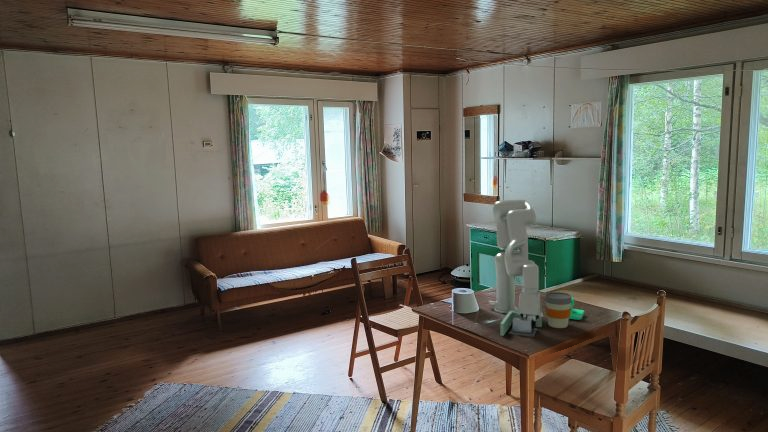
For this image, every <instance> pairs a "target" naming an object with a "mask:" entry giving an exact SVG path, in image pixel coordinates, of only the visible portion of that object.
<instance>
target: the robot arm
mask: <svg viewBox="0 0 768 432" xmlns="http://www.w3.org/2000/svg"><path fill="white" fill-rule="evenodd" d="M492 214H493V217H494V220H495V225H496V245H497V248H499V250H502V251H503V250H504V252H502V251H501V252H498V253H497V254H496V255H495V256H494V266H495V273H496V274H495V275H496V276H495V277H496V279H495V280H496V289H495V290H496V297H495V298H496V300H494V301H493V300H488V304H489V306H493V311H494V312H496V313H500V314H508V312H509V311H515V312H516V313H517V314H519V315H520V316H521V317H522V318H523V319H527V314H528V315H533V320H532V329H534V328H536V327H537V326H536V320H537V319H538V318H539V317H542V318H543V317H544V315H545V313H544V312H543V308H542V299H541V298H542V297H541V294H540V292H539V276H540V275H539V271H540V270H539V265H538V264H536V263H535V261H534V260H530V259H529V245H528V244H529V241H528V239H529V236H528V232H527V227H530V226H535V225H536V223H537V215H536V213H535V210H534V208H533V207H532V206H531V205H530V203H529V201H527V200H525V199H503V200H498V201H496V202H494V203H493V207H492ZM513 250H517V251H513ZM515 277H521V286H518V290H519V291H520V293H519V298H518V307H517V306H515V302H516V301H515V297H516V296H515V294H516V293H515V289H516V288H515V287H516V283H515Z"/></svg>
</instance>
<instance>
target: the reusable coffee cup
mask: <svg viewBox="0 0 768 432" xmlns="http://www.w3.org/2000/svg"><path fill="white" fill-rule="evenodd" d="M544 297H545V298H544V301H545V315H546V316H547V317H546V318H547V324H548V326H549V327H552V328H556V329H565V328H567V327H568V325H569V320H570V319H569V317H570V313H571V303H572V298H573V297H572V295H571V294H570V293H567V292H566V293H565V292H562V291H561V292H559V291H553V292H552V291H551V292H548V293H545V296H544Z"/></svg>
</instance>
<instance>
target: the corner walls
mask: <svg viewBox="0 0 768 432" xmlns="http://www.w3.org/2000/svg"><path fill="white" fill-rule="evenodd" d="M528 316H533V315H528V314H527V318H528ZM513 318H522V317H521V316H520V315H519V314H517V313H516V312H515V311H509V312H508V313H506V315H505V316H504V317H503V320H501V322H500V325H499V327H500V329H499V330H500V333H499V335H500V336H501V337H504V336H505V335H506V334H507V331H508V330H509V329H510V327H511V325H513ZM522 319H523V318H522ZM542 326H543V316H542V317H539V318H538V319H537V320H536V327H540V328H542Z"/></svg>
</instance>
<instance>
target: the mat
mask: <svg viewBox="0 0 768 432" xmlns="http://www.w3.org/2000/svg"><path fill="white" fill-rule="evenodd" d="M537 331H538V328H536V327H534V329H533V331H532V333H531V334H530V333H521V332H513V326H512V328H511V329H510V331H509V332H508V335H515V336H524V337H532V338H533V337H535V334H536V333H537Z"/></svg>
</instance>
